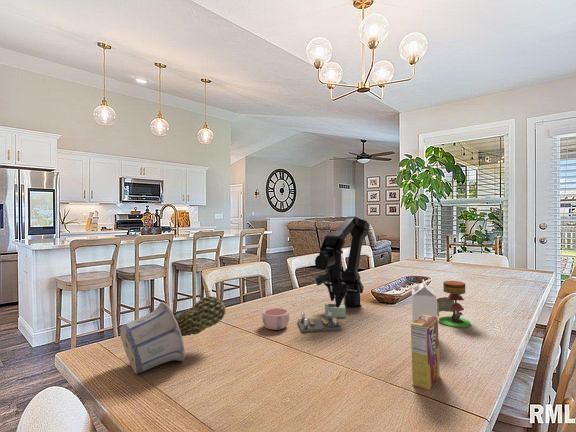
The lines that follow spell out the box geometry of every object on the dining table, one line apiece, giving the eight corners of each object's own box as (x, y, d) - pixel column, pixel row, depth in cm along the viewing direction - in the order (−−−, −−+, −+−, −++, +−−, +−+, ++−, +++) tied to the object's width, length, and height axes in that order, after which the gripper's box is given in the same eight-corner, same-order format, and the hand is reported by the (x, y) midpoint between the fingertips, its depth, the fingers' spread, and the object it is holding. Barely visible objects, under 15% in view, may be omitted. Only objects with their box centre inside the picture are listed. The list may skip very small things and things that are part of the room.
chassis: (333, 320, 129) (333, 309, 129) (340, 330, 118) (340, 319, 118) (297, 321, 128) (297, 311, 128) (301, 332, 117) (301, 321, 117)
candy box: (422, 370, 88) (422, 313, 88) (440, 376, 85) (439, 317, 85) (410, 384, 81) (410, 323, 81) (429, 390, 79) (428, 326, 78)
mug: (293, 329, 120) (293, 313, 120) (267, 334, 116) (267, 317, 116) (281, 319, 131) (281, 304, 131) (257, 323, 127) (257, 308, 127)
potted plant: (125, 331, 81) (229, 283, 100) (109, 317, 95) (203, 277, 113) (146, 395, 83) (244, 336, 102) (128, 372, 97) (217, 324, 116)
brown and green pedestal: (476, 321, 125) (476, 281, 125) (467, 330, 116) (466, 287, 115) (443, 314, 133) (443, 277, 133) (432, 323, 124) (431, 283, 124)
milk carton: (434, 335, 112) (434, 279, 111) (436, 344, 105) (436, 284, 105) (412, 333, 114) (411, 278, 114) (412, 341, 107) (412, 283, 107)
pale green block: (344, 313, 137) (344, 302, 137) (345, 317, 132) (345, 306, 132) (324, 313, 138) (324, 302, 138) (325, 317, 133) (325, 306, 133)
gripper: (310, 262, 143) (311, 298, 143) (319, 270, 124) (320, 312, 125) (335, 261, 144) (336, 297, 145) (348, 269, 126) (348, 310, 126)
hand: (334, 303), depth 135 cm, fingers open, 9 cm apart
